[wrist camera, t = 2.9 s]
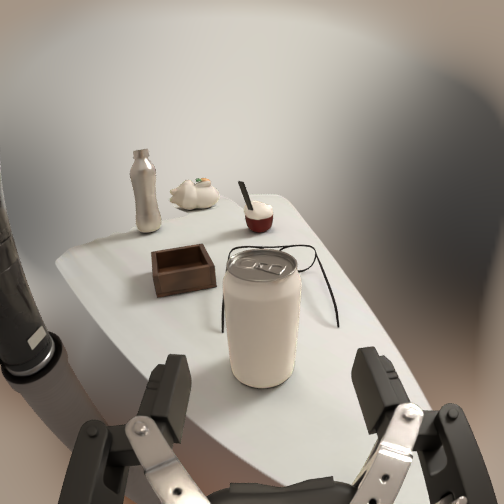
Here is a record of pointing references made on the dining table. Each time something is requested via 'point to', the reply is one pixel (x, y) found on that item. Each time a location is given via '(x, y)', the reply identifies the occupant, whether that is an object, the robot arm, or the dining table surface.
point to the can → (262, 315)
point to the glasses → (297, 270)
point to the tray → (182, 270)
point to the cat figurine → (195, 194)
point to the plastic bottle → (145, 192)
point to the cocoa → (256, 213)
